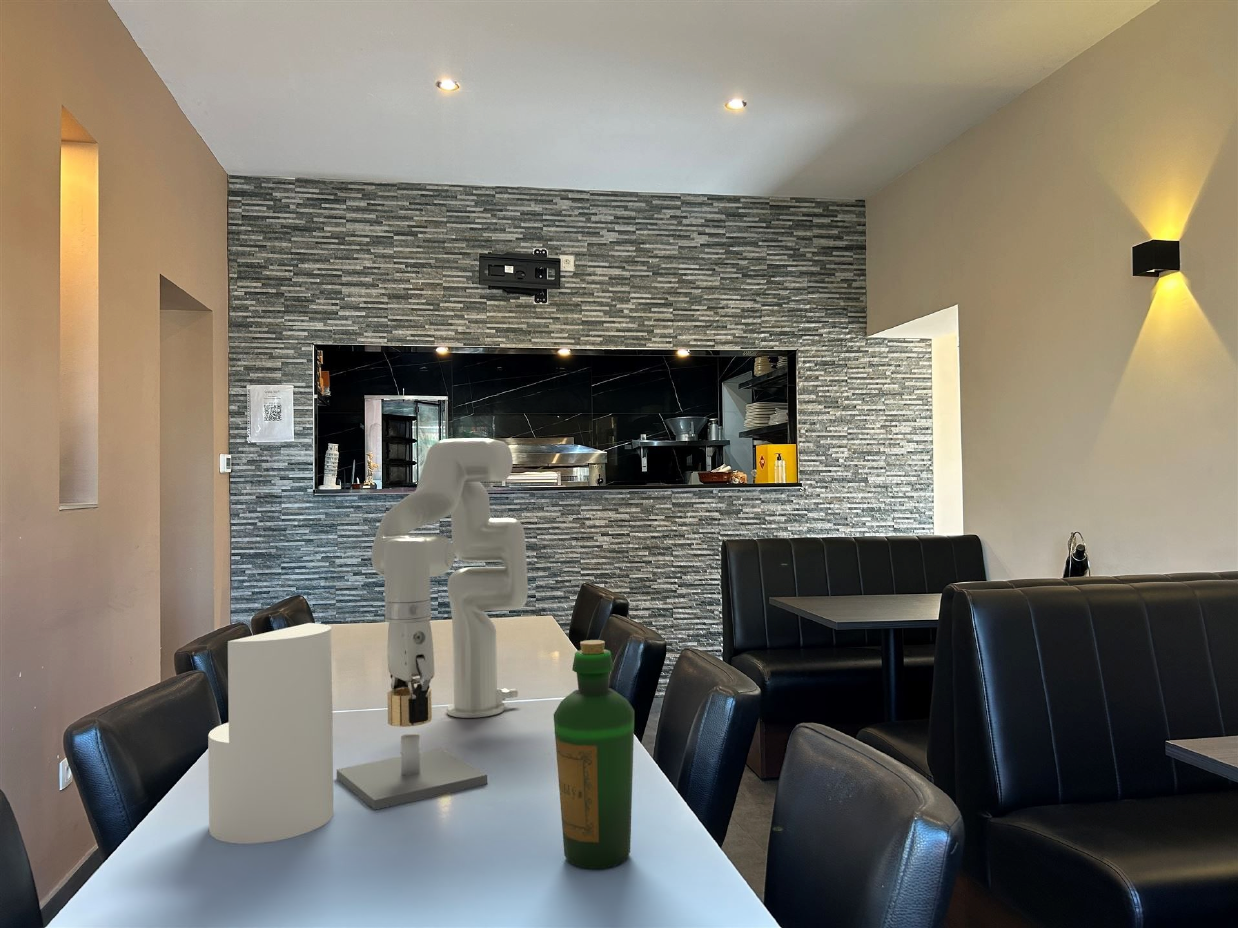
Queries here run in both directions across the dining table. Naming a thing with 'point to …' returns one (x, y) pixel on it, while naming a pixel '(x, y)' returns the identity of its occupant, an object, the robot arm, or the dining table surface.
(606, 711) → the bottle
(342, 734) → the dining table surface
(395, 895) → the dining table surface
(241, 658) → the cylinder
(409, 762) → the stand
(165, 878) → the dining table surface
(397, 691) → the wooden stave ring
